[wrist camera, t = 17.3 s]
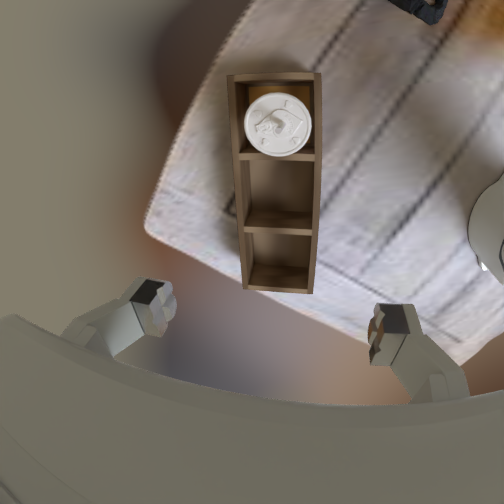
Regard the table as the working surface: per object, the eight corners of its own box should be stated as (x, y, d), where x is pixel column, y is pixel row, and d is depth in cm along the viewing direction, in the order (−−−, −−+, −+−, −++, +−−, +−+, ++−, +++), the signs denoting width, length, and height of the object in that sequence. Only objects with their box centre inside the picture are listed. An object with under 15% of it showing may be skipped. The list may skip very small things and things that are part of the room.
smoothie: (314, 135, 32) (319, 164, 21) (266, 143, 34) (242, 176, 22) (304, 87, 29) (303, 86, 17) (254, 97, 30) (222, 103, 19)
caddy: (318, 78, 29) (321, 73, 23) (313, 268, 44) (312, 294, 38) (238, 79, 31) (224, 75, 25) (249, 264, 45) (240, 288, 40)
